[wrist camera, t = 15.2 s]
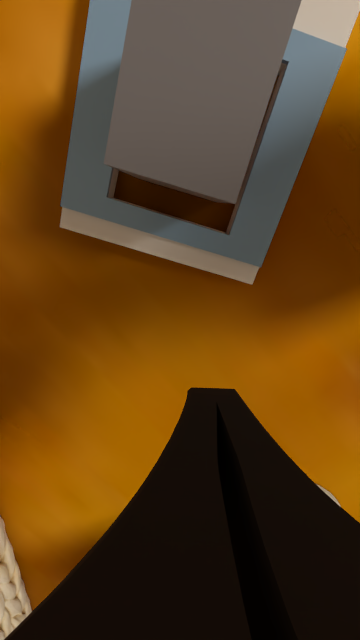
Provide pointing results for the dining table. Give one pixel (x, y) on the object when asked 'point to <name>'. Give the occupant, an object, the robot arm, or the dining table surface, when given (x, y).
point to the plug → (196, 91)
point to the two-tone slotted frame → (264, 167)
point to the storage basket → (10, 588)
